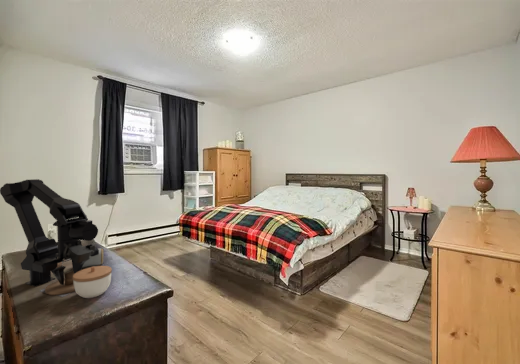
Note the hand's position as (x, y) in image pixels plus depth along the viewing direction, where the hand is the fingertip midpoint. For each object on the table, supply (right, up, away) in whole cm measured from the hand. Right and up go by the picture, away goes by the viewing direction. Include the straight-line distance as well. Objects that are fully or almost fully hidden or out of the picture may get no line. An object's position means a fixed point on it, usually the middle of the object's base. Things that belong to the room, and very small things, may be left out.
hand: (69, 281), depth 86 cm
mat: (0, -2, 0) cm, 2 cm away
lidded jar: (+12, -2, -5) cm, 13 cm away
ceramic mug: (-6, -1, +21) cm, 22 cm away
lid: (0, -2, 0) cm, 2 cm away
